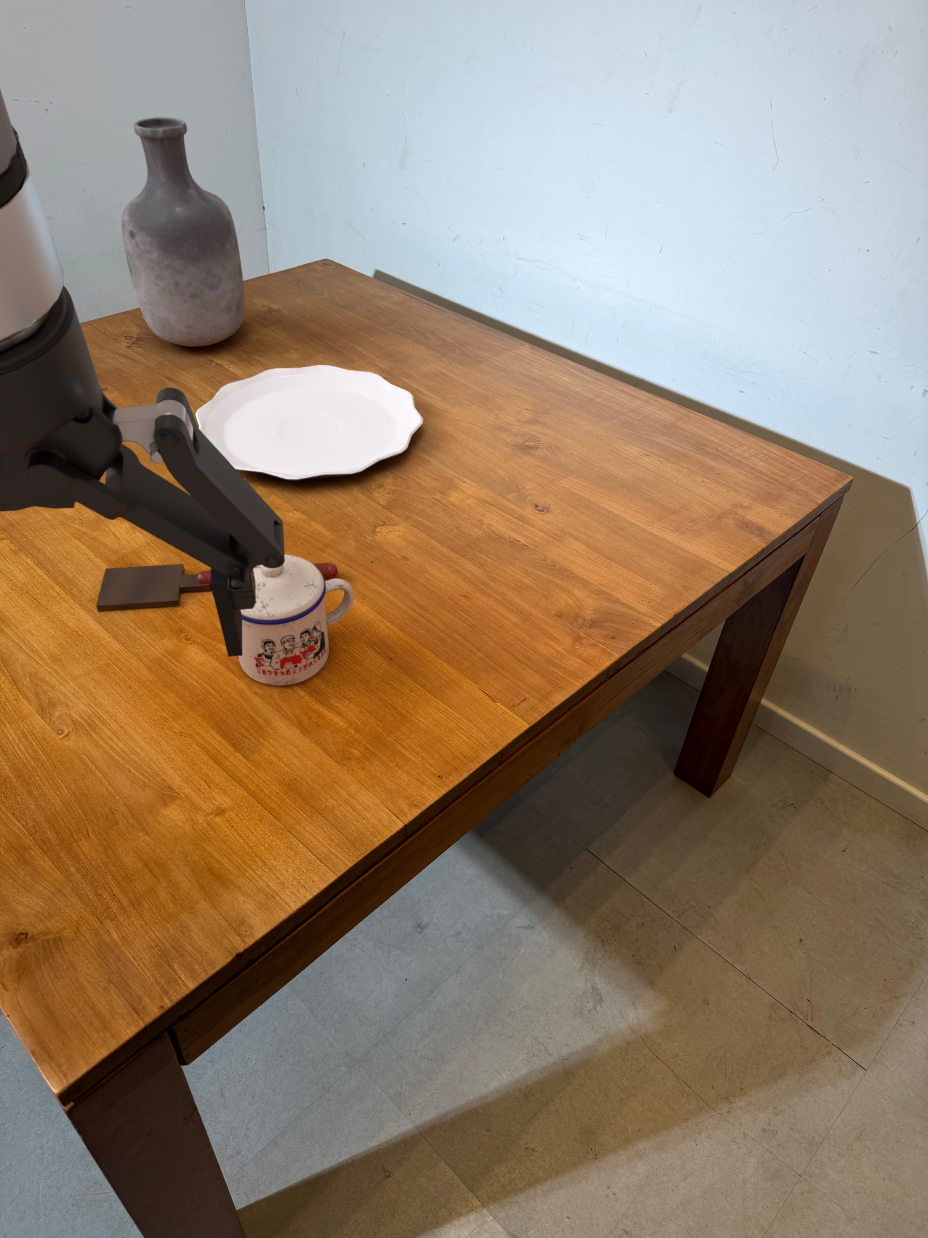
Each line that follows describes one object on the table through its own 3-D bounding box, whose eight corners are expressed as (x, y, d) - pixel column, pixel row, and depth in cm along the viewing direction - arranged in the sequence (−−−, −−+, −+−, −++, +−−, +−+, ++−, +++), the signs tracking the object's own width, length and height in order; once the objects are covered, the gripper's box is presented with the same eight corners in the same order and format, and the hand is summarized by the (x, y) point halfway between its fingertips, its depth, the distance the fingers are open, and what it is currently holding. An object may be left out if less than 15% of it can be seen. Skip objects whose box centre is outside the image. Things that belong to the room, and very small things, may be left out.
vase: (193, 310, 139) (155, 103, 119) (271, 331, 134) (245, 119, 114) (123, 345, 129) (68, 125, 108) (206, 370, 124) (165, 144, 103)
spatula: (97, 611, 85) (93, 598, 83) (107, 574, 89) (103, 560, 88) (339, 595, 88) (338, 582, 87) (337, 559, 92) (336, 546, 91)
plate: (465, 437, 113) (465, 421, 111) (285, 522, 97) (283, 505, 95) (330, 361, 128) (329, 346, 126) (156, 425, 112) (152, 408, 110)
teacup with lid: (255, 702, 77) (237, 608, 69) (224, 641, 82) (204, 547, 74) (374, 660, 81) (370, 567, 73) (337, 604, 87) (329, 512, 79)
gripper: (-532, 383, 24) (-162, 727, 42) (325, 363, 29) (341, 684, 46) (-419, 242, 29) (-125, 607, 46) (313, 242, 33) (332, 577, 50)
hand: (108, 646), depth 46 cm, fingers open, 13 cm apart
